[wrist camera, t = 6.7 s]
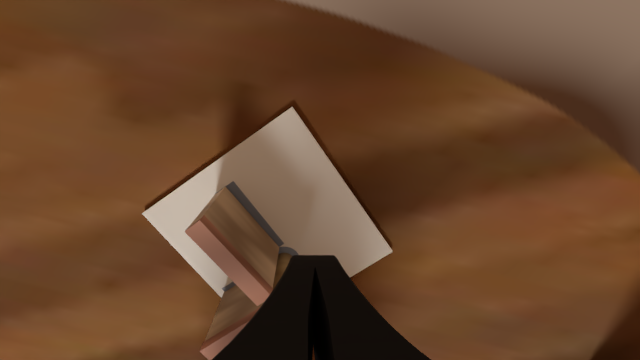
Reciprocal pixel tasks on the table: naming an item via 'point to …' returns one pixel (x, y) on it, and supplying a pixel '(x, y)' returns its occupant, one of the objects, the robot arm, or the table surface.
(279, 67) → the table surface
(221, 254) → the folding panel
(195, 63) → the table surface
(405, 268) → the table surface
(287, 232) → the card
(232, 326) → the fixed panel
